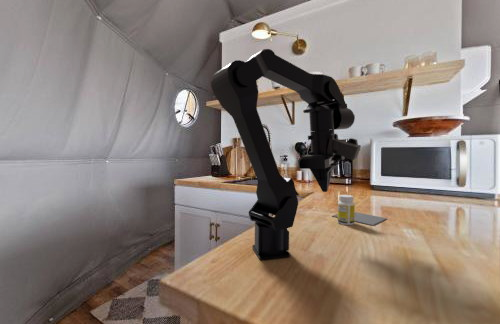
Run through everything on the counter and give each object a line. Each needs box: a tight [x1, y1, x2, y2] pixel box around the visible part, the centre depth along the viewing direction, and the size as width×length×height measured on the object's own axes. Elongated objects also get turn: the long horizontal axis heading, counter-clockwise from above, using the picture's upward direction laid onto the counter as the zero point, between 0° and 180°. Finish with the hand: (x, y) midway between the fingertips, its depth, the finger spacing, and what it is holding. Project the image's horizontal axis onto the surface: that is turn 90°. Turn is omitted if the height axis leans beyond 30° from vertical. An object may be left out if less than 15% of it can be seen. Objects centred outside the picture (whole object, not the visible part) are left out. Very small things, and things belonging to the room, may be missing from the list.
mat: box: [331, 211, 387, 227], centre depth 76 cm, size 11×13×1 cm
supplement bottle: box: [337, 194, 356, 226], centre depth 70 cm, size 5×5×8 cm
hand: (325, 191), depth 59 cm, fingers closed
